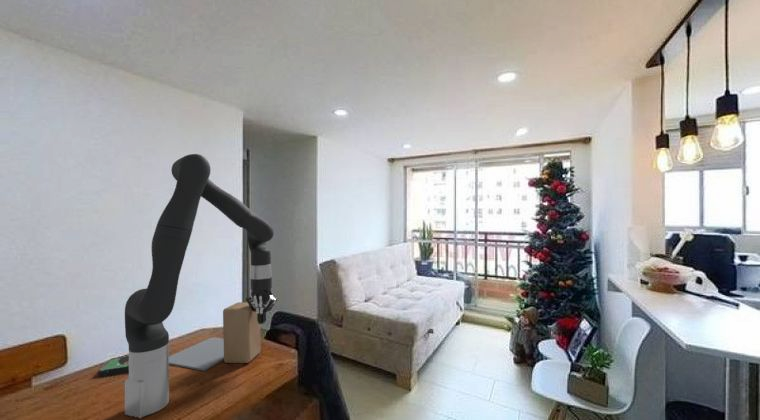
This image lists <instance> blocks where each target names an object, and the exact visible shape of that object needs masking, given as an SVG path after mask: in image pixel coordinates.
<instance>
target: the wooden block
mask: <svg viewBox="0 0 760 420" xmlns="http://www.w3.org/2000/svg"><path fill="white" fill-rule="evenodd" d="M254 307H255V306H254ZM259 308H260V307H259ZM222 327H223V329H222V331H223V332H222V333H223V336H222V337H223V339H224V360H223V361H224V363H225V364H248V363H251V362H252V361H253V360H254V359H255V358H257V356H258V355H259V354H260V353H261V350H262V346H261V345H262V344H261V324H259V323H258V321H257V313H256V312H255V311H254V312H253V311H252V309H251V307H250V306H249V304H248V302H247V301H246V302H242V301H240V302H236V303H234V304H232V305H229V306H228V307H225V308H224V309H223V310H222Z"/></svg>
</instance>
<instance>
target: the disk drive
mask: <svg viewBox="0 0 760 420" xmlns="http://www.w3.org/2000/svg"><path fill="white" fill-rule="evenodd" d="M127 373H128V374H129V355H126V356H120V357H119V356H118V357H113V358H112V357H111V358H110V359H109V360H108V361H107V362H106V363H104V365H103V366H102V367H101V368H99V369H98V371H97V378H102V377H108V376H113V375H122V374H127Z"/></svg>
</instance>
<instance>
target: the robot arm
mask: <svg viewBox="0 0 760 420" xmlns="http://www.w3.org/2000/svg"><path fill="white" fill-rule="evenodd" d="M171 175H172V177H173V178H174V180H175V181H176V185H175V188H174V191H173V194H172V195H171V198H170V200H169V201H168V203H167V205H166V206H165V208H164V209H163V211H162V213H161V215H160V217H159V218H158V221H157V223H156V226H155V230H154V233H153V236H152V240H151V248H150V249H151V260H152V262H151V263H152V270H151V274H150V279H149V282H148V284H147V287H146V288H140V289H138V290H136V291H134V292H133V293H132V294H131V295H129V297H128V298H127V301H126V303H125V305H124V306H125V307H124V328H125V338H126V341H127V344H128V356H129V372H128V378H126V379H125V380H124V415H126V416H129V417H133V416H134V418H137V417H138V418H137V419H142V418H144V417H146V416H150V415H152V414H155V413H156V412H160V411H161V410H162V409H164V408H165V407H167V405H168V404H169V402H170V364H169V356H170V350H169V349H170V340H169V339H170V337H169V336H170V334H169V332H168V331H167V329H166V328H165V326H164V324H163V323H164V321H165V320H167V319H168V318H169V316H170V315H171V313H172V312H173V309H174V307H175V303H176V298H177V291H178V285H179V278H180V274H181V270H182V268H183V263H184V261H185V260H184V259H185V256H186V252H187V249H188V245H189V243H190V239H191V235H192V233H193V228H194V224H195V220H196V217H197V214H198V208H199V204H200V200H201V198H203V199H204V200H206V201H207V202H208V203H210V204H211V205H212V206H213V207H215V208H216V209H217V210H219V212H221V213H222V214H223V215H224V216H226V217H227V218H228V219H229V220H230V221H231V222H232V223H233V224H235V225H236V226H237V227H239V228H242V229H244V230H246V233H247V235H246V237H247V244H248V247H249V252H250V271H249V275H250V278H249V280H250V282H249V283H250V290H251V293H250V295H249V296H248V297H246V298H245V301H246V302H248V304H249V306H250V307H251V309H252V311H253V312H254V311H255V312H256V313H257V321H258V323H259V324H260V325H263V324H265V323H266V321H267V312H270V311H271V310H272V309H273V308H274V307H275V304H276V303H277V302H278V298H277V297H274V296H273V293H272V288H273V277H272V276H273V272H272V261H271V260H272V256H271V250H270V249H269V248H268V247H267V242H270V241H271V240H272V239H273V237H274V234H275V233H274V229H273V227H272V225H270V224H269V222H267V221H266V220H264V218H262V217H261V216H259V215H257V214H255V213H254V212H253V211H252V210H251V209H250V208H248V206H247V205H245V204H244V203H243V202H242V201H241V200H240V199H238V198H237V197H235V196H234V195H232V194H230V193H229V192H227V191H225V190H224V189H222V188H220V186H218V185H216V184H215V182H213V181H212V180H211V179H210V175H211V165H210V162H209V161H208V159H207V158H206V157H205V156H203V155H201V154H199V153H198V154H197V153H190V154H187V155H184V156H183V157H180V158H178V159H177V160H176V161H174V162H173V163H172V166H171ZM254 306H255V307H254ZM259 307H260V308H259Z"/></svg>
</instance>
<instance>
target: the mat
mask: <svg viewBox="0 0 760 420" xmlns="http://www.w3.org/2000/svg"><path fill="white" fill-rule="evenodd" d="M223 361H224V338H223V337H214V336H213V337H210V338H207V339H204V340H203V341H201V342H198V343H196V344H194V345H192V346H190V347H187V348H185V349H183V350H180V351H178V352H176V353H173V354H172V355H169V366H176V367H180V368H181V367H182V368H187V369H192V370H198V371H203V372H205V371H206V370H208V369H210V368H212V367H214V366H215V365H217V364H219V363H222V362H223Z"/></svg>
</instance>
